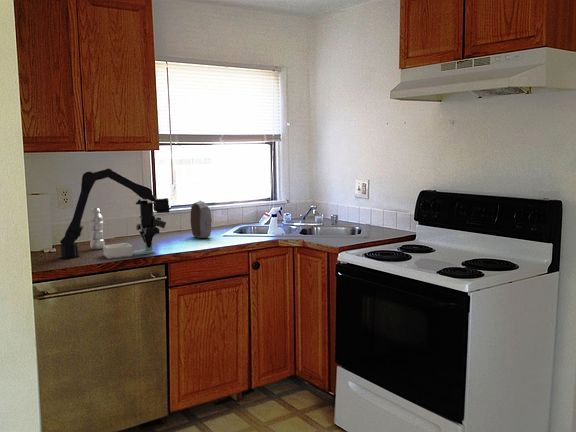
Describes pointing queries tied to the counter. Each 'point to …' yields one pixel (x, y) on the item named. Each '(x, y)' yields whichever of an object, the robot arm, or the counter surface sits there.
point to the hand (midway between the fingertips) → (148, 247)
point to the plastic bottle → (96, 229)
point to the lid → (144, 250)
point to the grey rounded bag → (200, 220)
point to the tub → (117, 250)
